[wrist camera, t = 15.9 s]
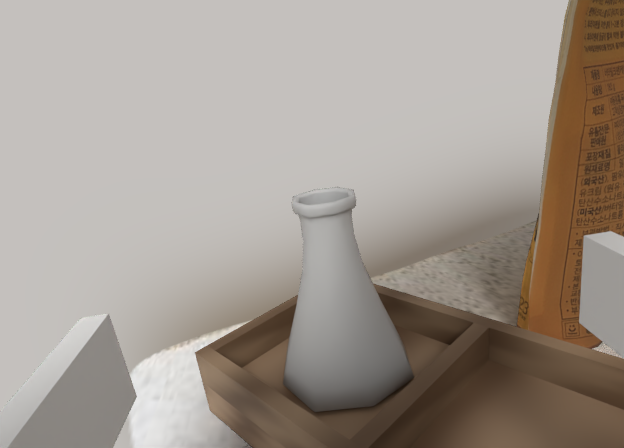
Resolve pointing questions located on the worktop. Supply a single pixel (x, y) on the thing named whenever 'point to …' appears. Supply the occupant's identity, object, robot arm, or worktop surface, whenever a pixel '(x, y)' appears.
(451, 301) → the worktop surface
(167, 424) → the worktop surface
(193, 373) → the worktop surface
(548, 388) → the wooden tray
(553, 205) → the pancake mix bag
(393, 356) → the flask
